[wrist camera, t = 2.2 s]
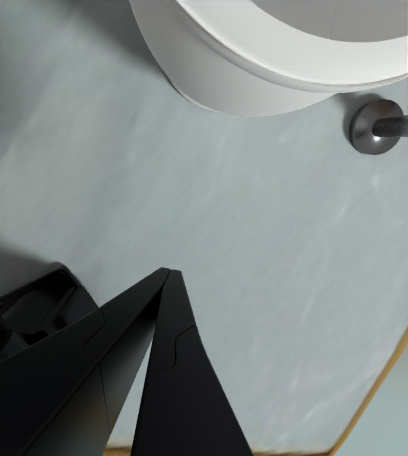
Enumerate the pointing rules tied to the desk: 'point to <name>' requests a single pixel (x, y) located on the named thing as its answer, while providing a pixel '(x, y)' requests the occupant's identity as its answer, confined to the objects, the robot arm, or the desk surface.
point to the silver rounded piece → (378, 127)
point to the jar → (274, 49)
